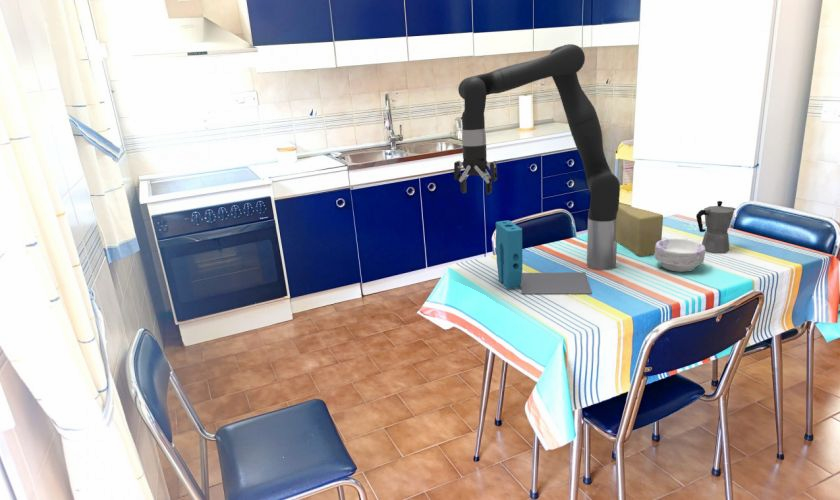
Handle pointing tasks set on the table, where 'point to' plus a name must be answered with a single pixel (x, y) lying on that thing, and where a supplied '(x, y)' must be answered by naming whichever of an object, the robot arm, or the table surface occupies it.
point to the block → (509, 254)
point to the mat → (555, 283)
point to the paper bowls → (679, 254)
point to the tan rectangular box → (638, 229)
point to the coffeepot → (716, 227)
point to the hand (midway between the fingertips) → (476, 193)
